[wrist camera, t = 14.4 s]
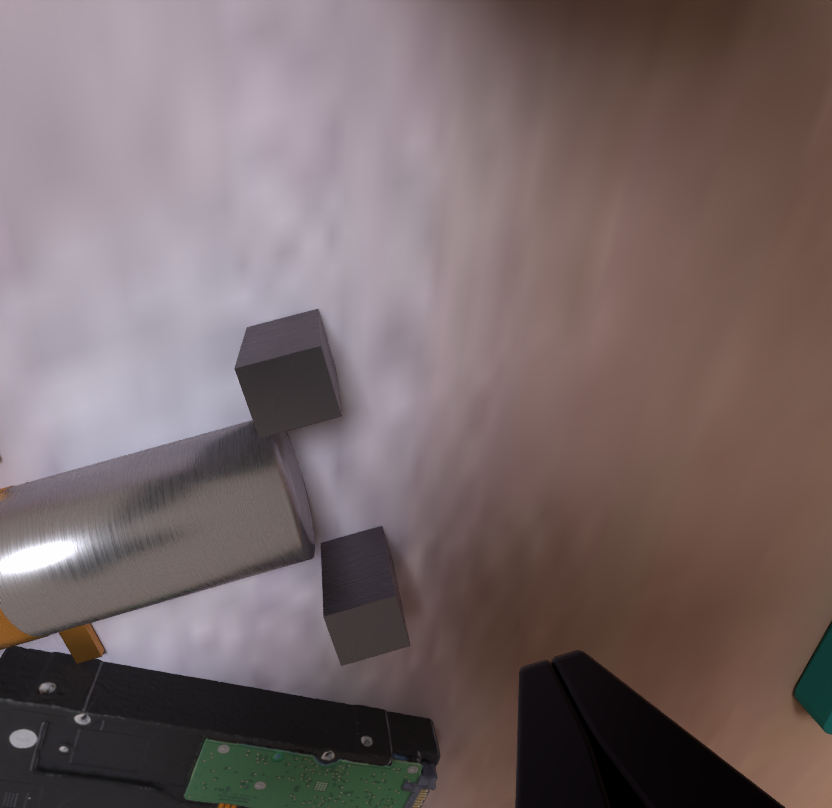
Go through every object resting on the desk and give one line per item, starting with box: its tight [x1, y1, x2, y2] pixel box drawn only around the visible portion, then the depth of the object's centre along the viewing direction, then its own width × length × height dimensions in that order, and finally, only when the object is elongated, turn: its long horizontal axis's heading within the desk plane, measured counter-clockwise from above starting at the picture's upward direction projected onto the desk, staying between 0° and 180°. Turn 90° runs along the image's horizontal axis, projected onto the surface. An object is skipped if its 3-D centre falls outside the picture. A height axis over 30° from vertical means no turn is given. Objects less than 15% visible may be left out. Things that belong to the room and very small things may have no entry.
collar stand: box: [59, 309, 410, 666], centre depth 18 cm, size 17×10×4 cm, turn 103°
